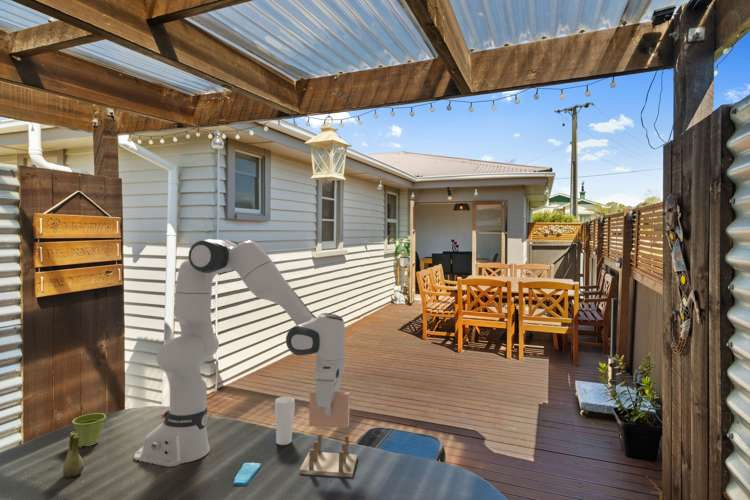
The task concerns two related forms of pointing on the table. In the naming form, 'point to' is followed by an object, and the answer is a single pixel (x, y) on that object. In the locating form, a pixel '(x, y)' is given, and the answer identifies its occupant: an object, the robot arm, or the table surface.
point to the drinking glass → (284, 419)
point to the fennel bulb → (73, 458)
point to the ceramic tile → (338, 411)
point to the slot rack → (329, 461)
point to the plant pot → (89, 428)
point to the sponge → (246, 473)
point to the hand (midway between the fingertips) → (329, 411)
